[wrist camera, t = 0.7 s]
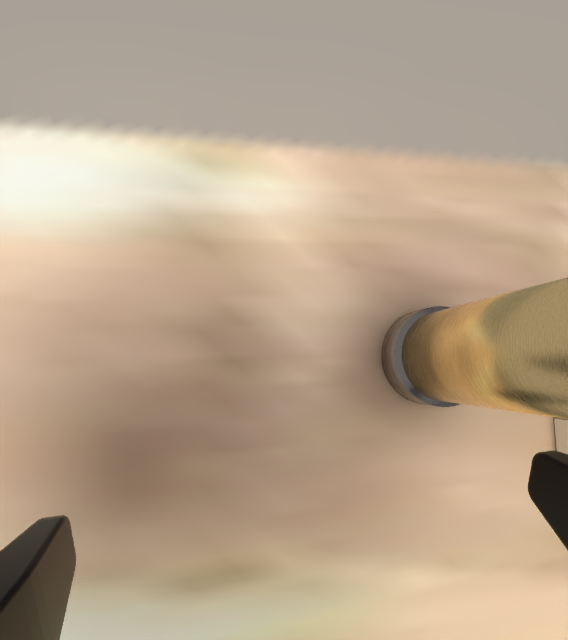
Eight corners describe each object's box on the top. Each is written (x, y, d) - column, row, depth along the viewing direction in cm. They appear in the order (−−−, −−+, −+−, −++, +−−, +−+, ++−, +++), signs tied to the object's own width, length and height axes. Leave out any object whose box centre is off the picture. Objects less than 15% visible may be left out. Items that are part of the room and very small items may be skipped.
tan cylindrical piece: (454, 416, 25) (709, 467, 12) (370, 385, 24) (545, 404, 11) (477, 329, 26) (737, 291, 13) (397, 297, 25) (587, 224, 12)
